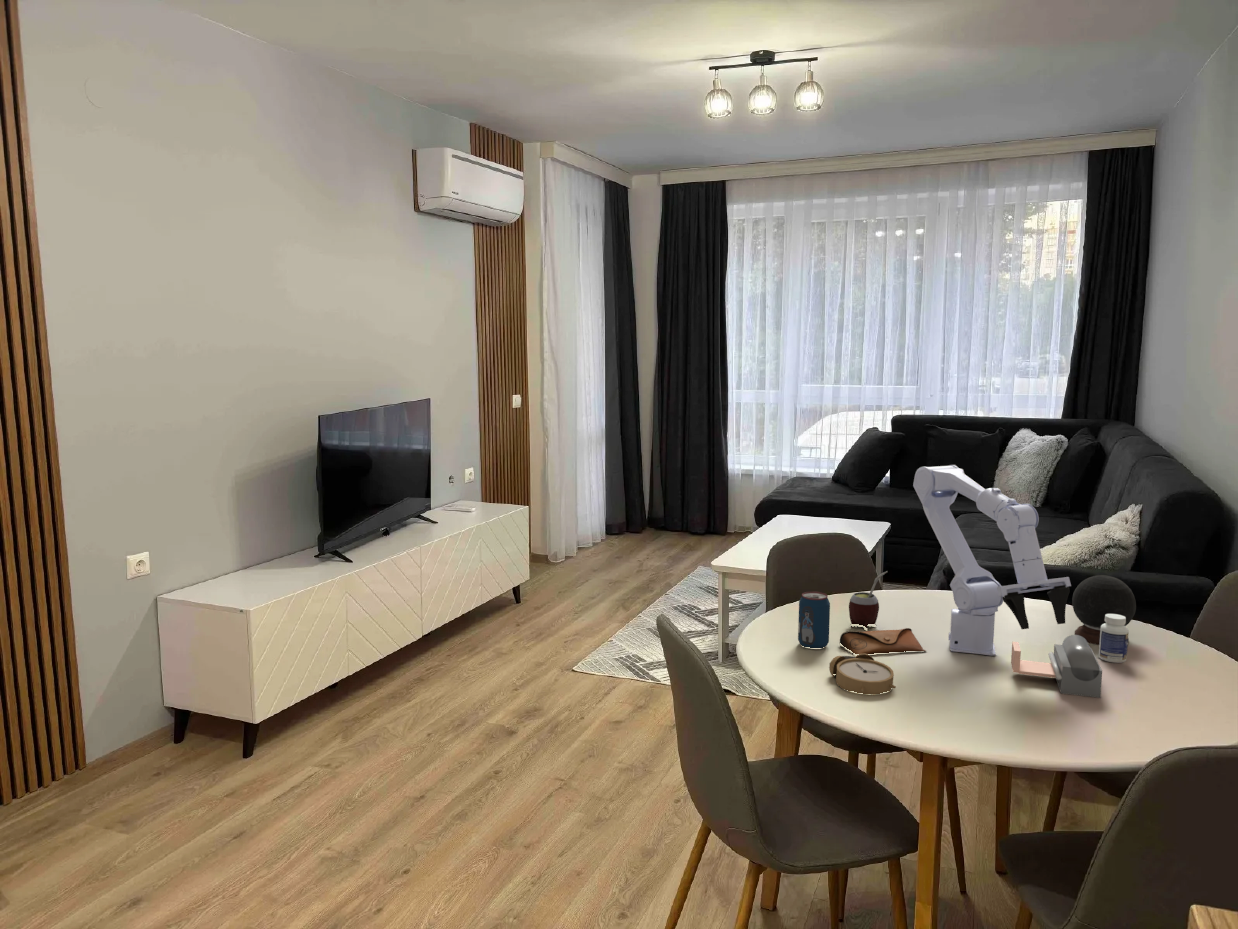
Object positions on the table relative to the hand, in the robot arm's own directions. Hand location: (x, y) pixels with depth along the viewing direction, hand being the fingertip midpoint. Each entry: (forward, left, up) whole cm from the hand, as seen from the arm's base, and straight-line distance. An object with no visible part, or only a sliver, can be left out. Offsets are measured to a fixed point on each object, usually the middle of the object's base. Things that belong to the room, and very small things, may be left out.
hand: (1043, 626), depth 184 cm
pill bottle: (+16, +17, -11) cm, 26 cm away
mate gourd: (-37, +22, -11) cm, 44 cm away
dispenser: (+7, -1, -11) cm, 13 cm away
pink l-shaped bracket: (+2, -1, -9) cm, 9 cm away
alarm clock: (-35, -15, -11) cm, 40 cm away
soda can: (-47, +4, -11) cm, 48 cm away
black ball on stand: (+16, +32, -11) cm, 37 cm away
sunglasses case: (-32, +7, -12) cm, 35 cm away
